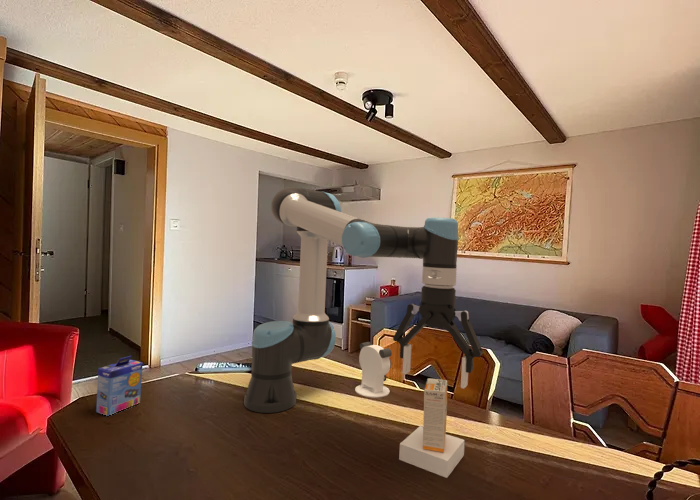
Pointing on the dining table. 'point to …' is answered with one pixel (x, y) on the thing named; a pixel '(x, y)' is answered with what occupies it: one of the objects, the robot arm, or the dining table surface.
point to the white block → (432, 453)
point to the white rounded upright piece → (373, 370)
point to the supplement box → (435, 414)
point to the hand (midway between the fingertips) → (434, 379)
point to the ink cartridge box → (118, 386)
